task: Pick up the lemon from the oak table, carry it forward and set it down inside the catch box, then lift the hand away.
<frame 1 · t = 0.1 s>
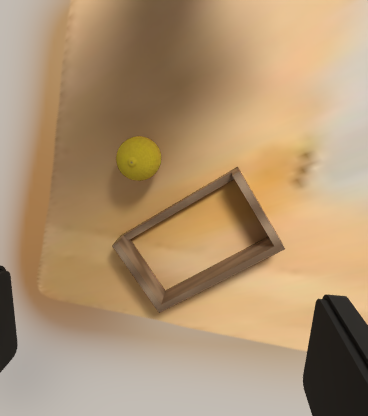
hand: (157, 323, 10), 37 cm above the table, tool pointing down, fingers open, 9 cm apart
lemon: (145, 154, 46), on the table
catch box: (198, 237, 49), on the table
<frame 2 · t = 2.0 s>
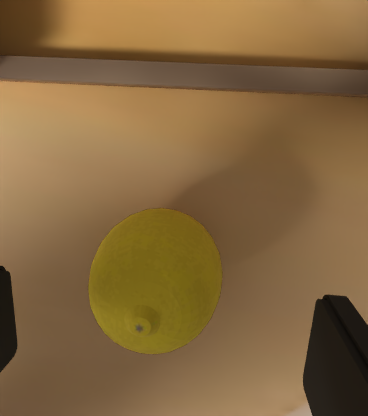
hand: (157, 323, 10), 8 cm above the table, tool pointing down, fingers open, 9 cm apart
lemon: (169, 240, 18), on the table
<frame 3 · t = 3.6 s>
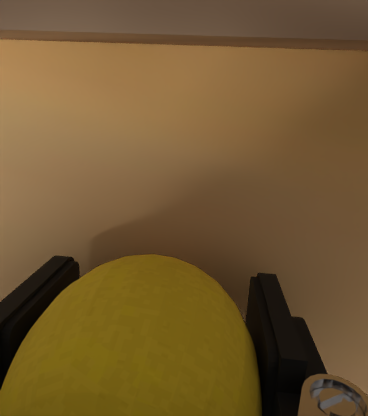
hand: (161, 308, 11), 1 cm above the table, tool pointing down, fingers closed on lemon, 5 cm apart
lemon: (166, 290, 12), on the table, touching gripper
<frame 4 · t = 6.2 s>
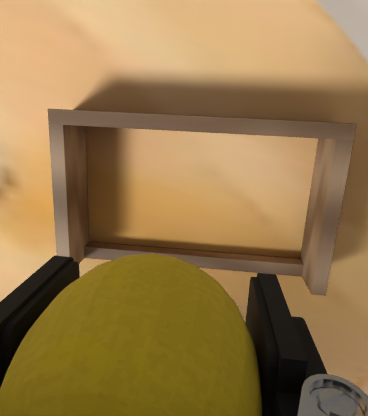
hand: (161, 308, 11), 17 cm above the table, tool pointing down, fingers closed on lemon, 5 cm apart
lemon: (166, 290, 12), point 16 cm above the table, touching gripper
catch box: (195, 192, 27), on the table
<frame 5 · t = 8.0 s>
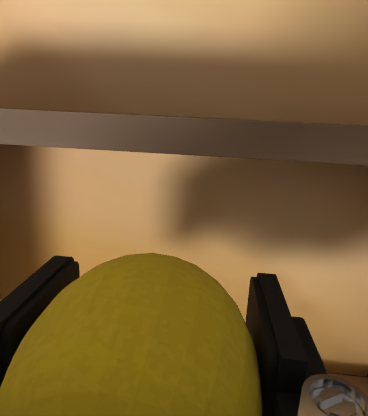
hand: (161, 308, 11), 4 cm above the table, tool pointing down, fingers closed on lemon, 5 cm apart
lemon: (166, 290, 12), point 3 cm above the table, touching gripper
catch box: (175, 259, 14), on the table
when the fingers open (3 cm above the table, at t = 9.0 s): lemon drops 2 cm, resting in catch box.
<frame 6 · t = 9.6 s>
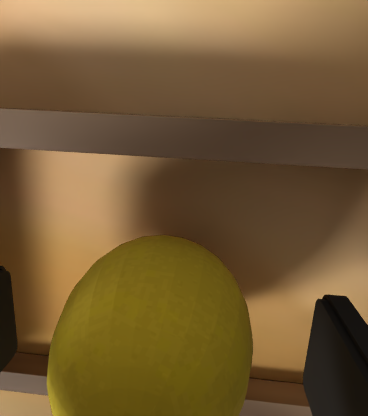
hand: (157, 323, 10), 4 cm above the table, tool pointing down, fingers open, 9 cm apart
lemon: (173, 268, 14), resting in catch box
catch box: (173, 268, 14), on the table
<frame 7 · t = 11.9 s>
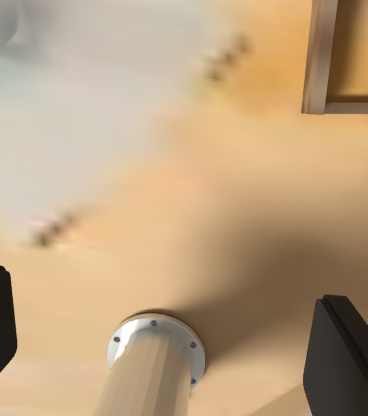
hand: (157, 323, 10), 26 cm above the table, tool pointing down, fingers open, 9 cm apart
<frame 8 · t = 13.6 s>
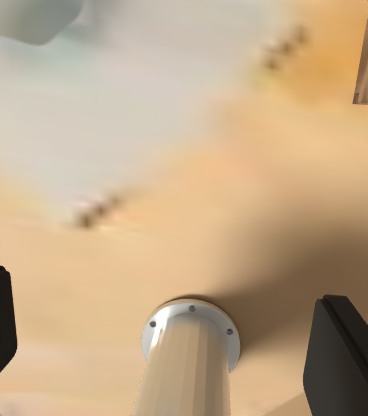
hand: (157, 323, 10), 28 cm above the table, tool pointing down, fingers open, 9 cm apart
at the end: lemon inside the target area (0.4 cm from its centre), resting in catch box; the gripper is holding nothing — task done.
